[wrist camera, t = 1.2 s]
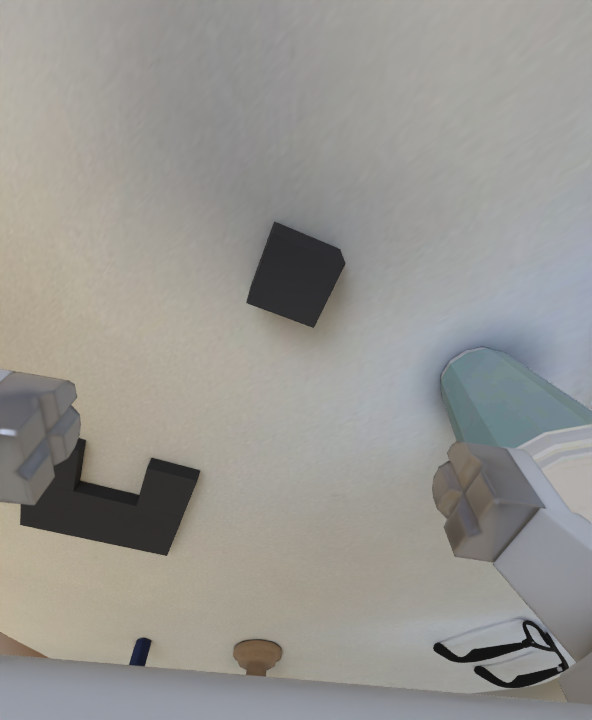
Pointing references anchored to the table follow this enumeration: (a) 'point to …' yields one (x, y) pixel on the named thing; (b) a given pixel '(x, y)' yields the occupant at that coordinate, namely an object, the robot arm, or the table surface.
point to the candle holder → (257, 656)
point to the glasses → (504, 649)
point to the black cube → (295, 275)
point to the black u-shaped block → (114, 506)
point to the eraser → (140, 652)
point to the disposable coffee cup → (522, 419)
